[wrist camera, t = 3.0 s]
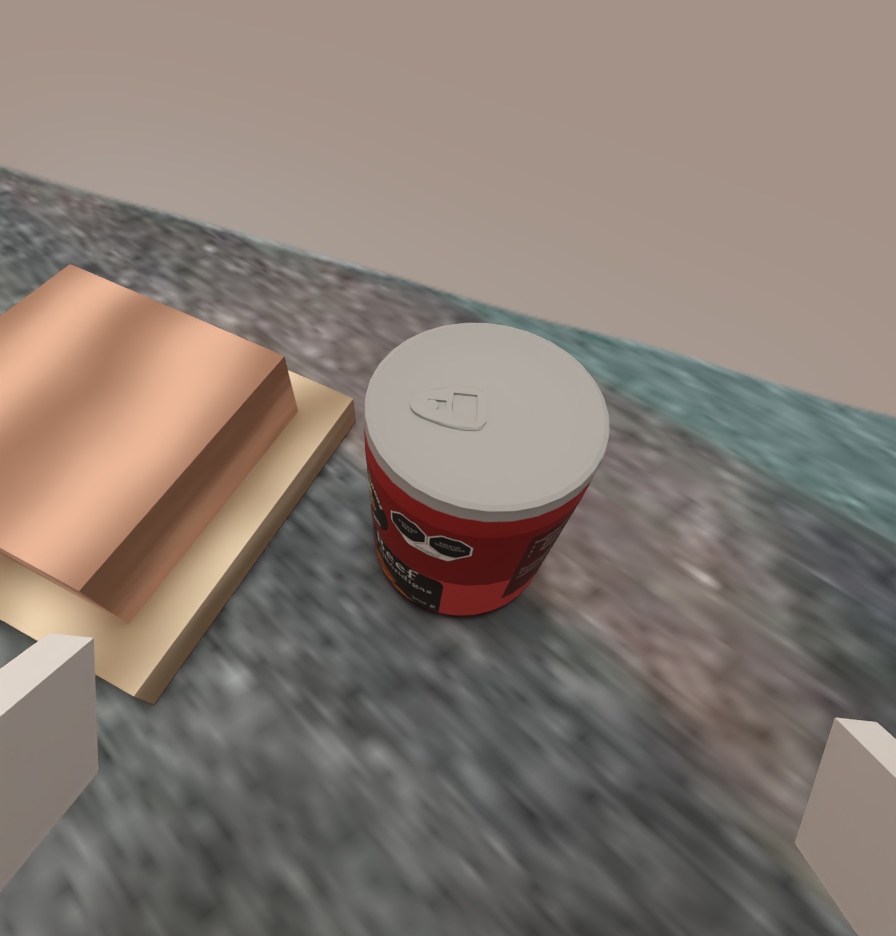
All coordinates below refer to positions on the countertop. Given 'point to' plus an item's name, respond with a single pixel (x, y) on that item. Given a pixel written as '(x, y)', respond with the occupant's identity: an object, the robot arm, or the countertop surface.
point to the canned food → (477, 461)
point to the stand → (142, 470)
